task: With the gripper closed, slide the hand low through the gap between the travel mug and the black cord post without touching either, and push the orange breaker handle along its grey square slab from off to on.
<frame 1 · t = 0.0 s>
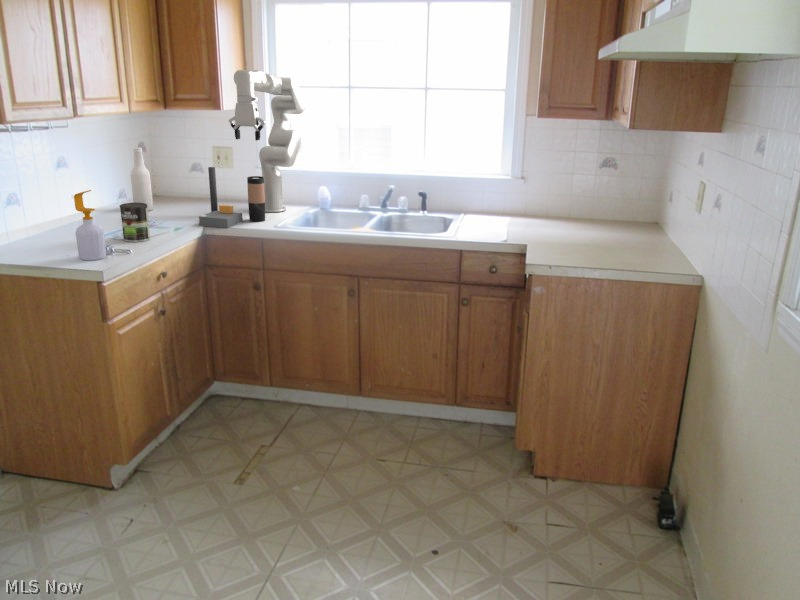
hand: (247, 139, 290), 37 cm above the worktop, tool pointing down, fingers open, 9 cm apart
soap bottle: (93, 258, 234), on the worktop
alcohol: (144, 210, 315), on the worktop
grey square slab: (221, 223, 292), on the worktop
coffee can: (137, 239, 261), on the worktop
cord post: (214, 216, 306), on the worktop
breaker handle: (226, 209, 295), point 6 cm above the worktop, slide at 0.0 cm
travel mug: (257, 220, 301), on the worktop
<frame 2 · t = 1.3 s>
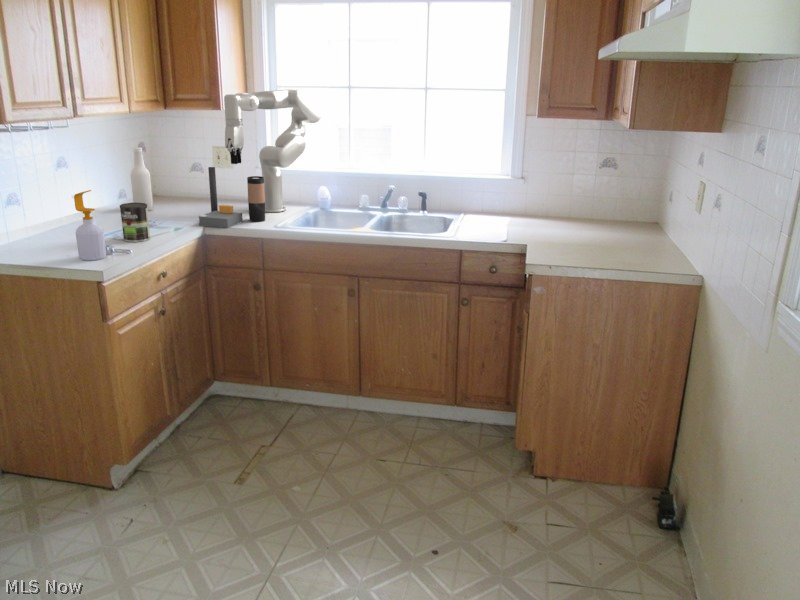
hand: (236, 163, 300), 25 cm above the worktop, tool pointing down, fingers closed
nothing on the worktop moved.
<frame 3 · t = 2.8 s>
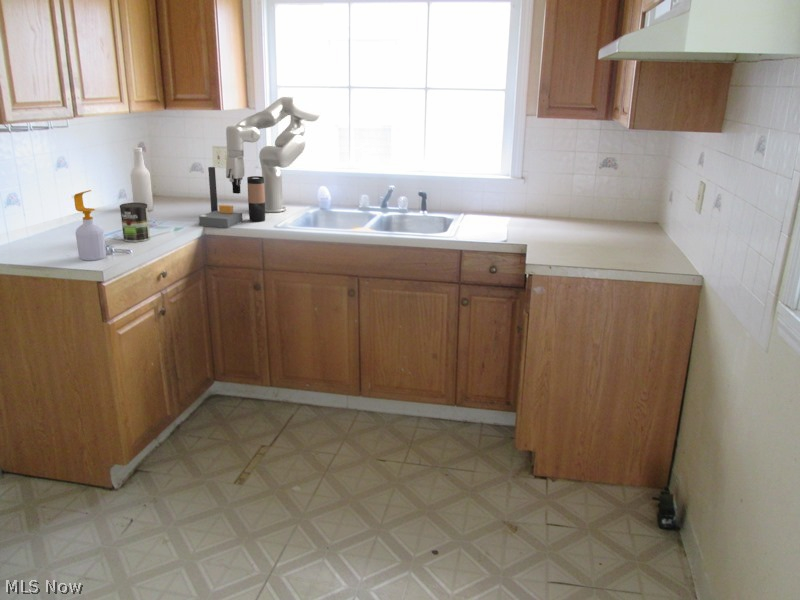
hand: (236, 193, 304), 11 cm above the worktop, tool pointing down, fingers closed
nothing on the worktop moved.
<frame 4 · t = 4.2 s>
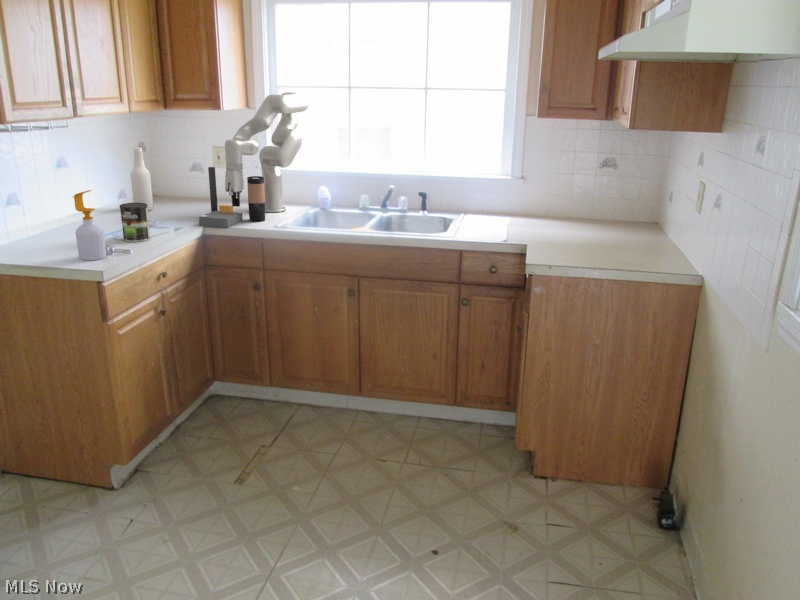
hand: (236, 206, 304), 5 cm above the worktop, tool pointing down, fingers closed
nothing on the worktop moved.
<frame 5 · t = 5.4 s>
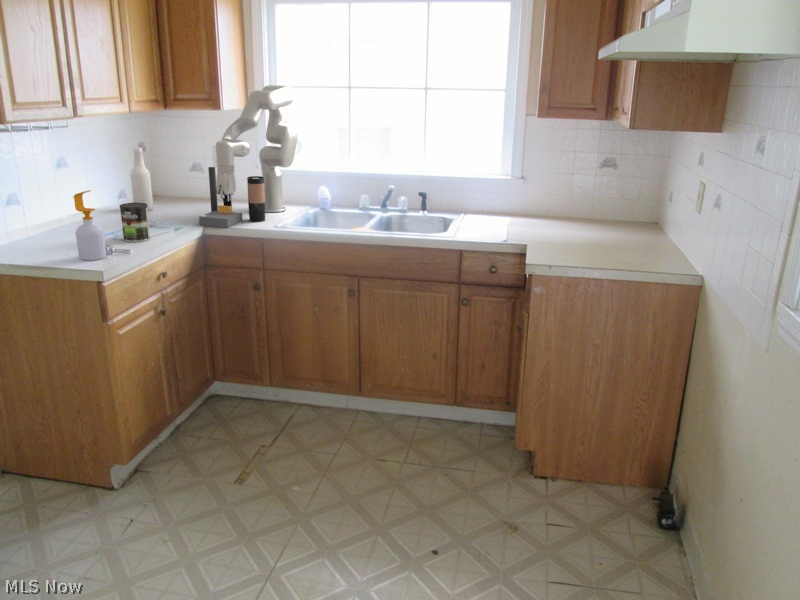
hand: (227, 209, 297), 5 cm above the worktop, tool pointing down, fingers closed
breaker handle: (225, 209, 294), point 6 cm above the worktop, slide at 1.1 cm, touching gripper
everything else where it was.
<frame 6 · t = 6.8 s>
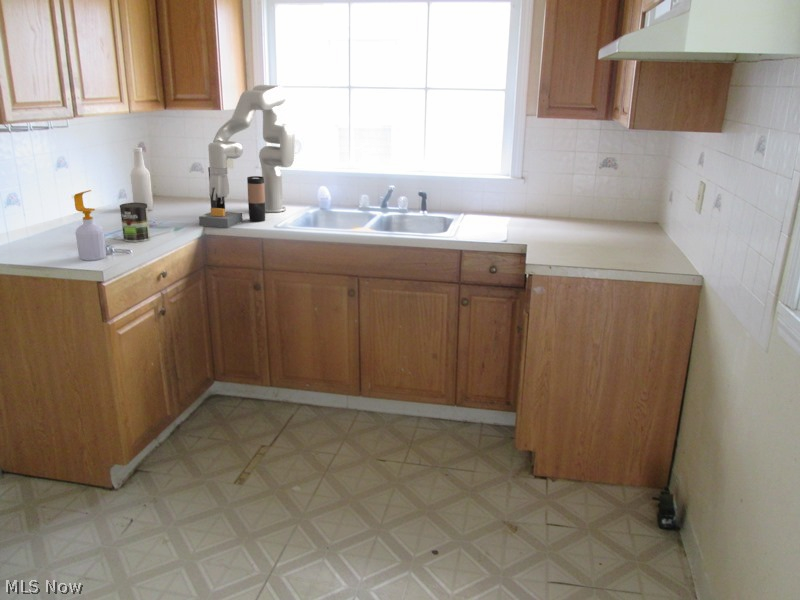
hand: (221, 212, 291), 5 cm above the worktop, tool pointing down, fingers closed
breaker handle: (217, 212, 288), point 6 cm above the worktop, slide at 7.5 cm, touching gripper
everything else where it was.
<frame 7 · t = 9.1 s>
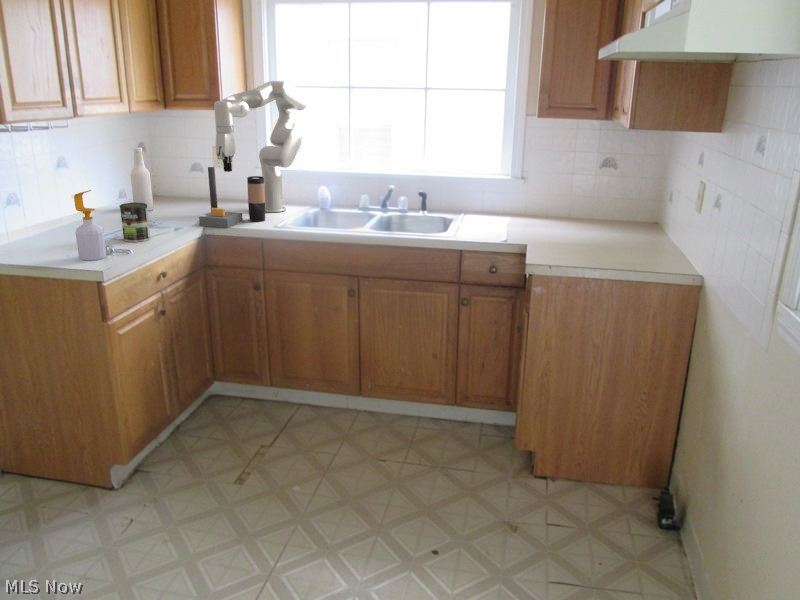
hand: (228, 171, 293), 22 cm above the worktop, tool pointing down, fingers closed
breaker handle: (217, 212, 288), point 6 cm above the worktop, slide at 7.5 cm
everything else where it was.
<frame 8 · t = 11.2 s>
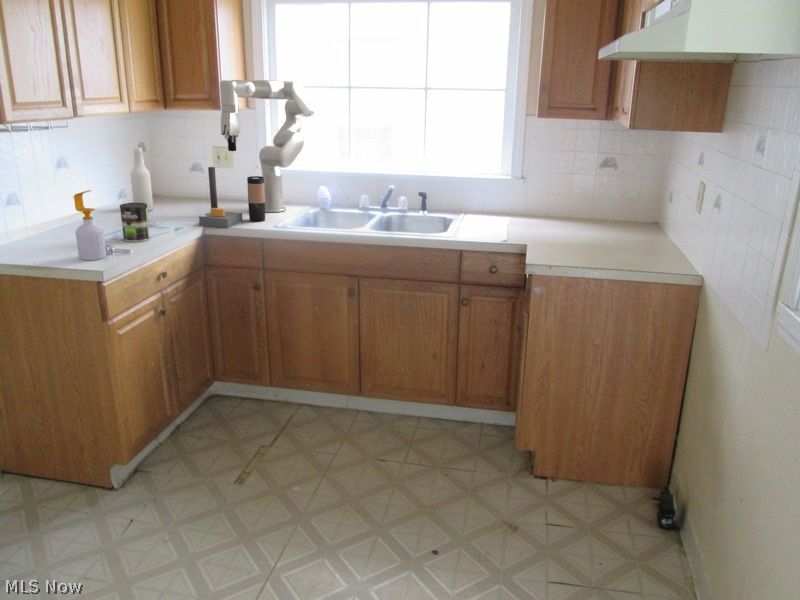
hand: (232, 150, 295), 31 cm above the worktop, tool pointing down, fingers closed
nothing on the worktop moved.
at the end: breaker handle slide at 7.5 cm; travel mug moved 0.2 cm from its start; cord post moved 0.0 cm from its start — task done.
